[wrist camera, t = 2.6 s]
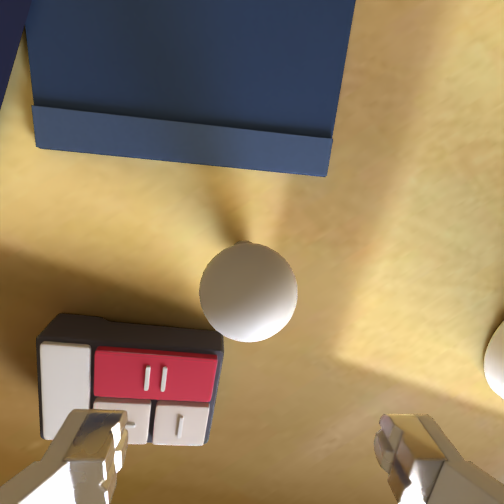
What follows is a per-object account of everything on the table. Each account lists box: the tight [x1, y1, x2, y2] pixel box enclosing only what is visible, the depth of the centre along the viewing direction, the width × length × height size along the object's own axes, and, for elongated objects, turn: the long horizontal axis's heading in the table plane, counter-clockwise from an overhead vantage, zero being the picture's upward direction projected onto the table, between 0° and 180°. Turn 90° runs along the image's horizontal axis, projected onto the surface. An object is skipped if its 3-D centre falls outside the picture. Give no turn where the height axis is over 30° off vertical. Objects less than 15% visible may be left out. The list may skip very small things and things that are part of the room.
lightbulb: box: [199, 241, 297, 342], centre depth 21 cm, size 6×6×11 cm
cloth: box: [25, 0, 356, 177], centre depth 21 cm, size 22×15×1 cm
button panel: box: [36, 314, 224, 446], centre depth 28 cm, size 11×4×15 cm
